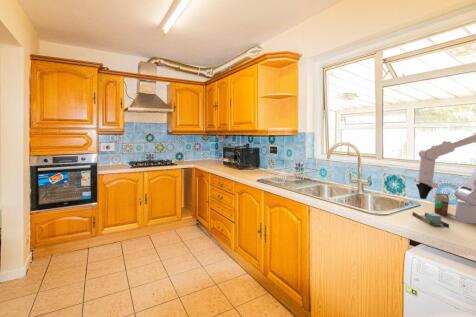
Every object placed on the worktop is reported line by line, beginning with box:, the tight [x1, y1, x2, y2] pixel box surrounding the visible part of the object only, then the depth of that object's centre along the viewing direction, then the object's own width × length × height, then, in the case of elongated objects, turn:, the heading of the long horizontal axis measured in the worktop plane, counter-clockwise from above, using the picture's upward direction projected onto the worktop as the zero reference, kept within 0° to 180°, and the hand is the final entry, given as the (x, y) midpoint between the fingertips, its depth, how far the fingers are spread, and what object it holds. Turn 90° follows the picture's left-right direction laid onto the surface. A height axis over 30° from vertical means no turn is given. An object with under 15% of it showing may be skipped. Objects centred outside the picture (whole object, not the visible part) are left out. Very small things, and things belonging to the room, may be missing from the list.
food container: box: [433, 192, 450, 217], centre depth 130 cm, size 12×6×10 cm, turn 141°
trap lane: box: [411, 211, 450, 229], centre depth 118 cm, size 6×16×2 cm, turn 175°
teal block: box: [425, 212, 443, 225], centre depth 115 cm, size 4×4×4 cm
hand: (423, 198), depth 123 cm, fingers closed
